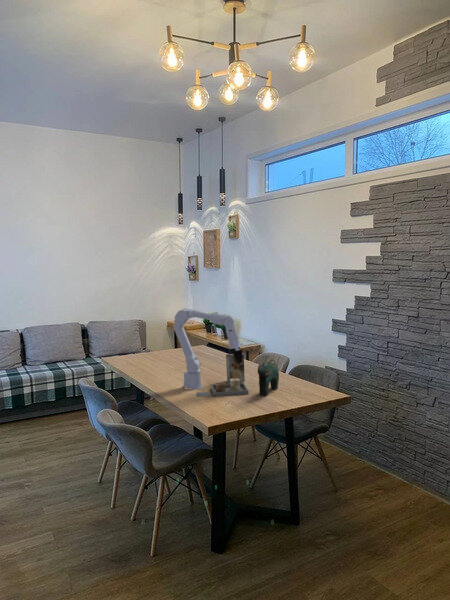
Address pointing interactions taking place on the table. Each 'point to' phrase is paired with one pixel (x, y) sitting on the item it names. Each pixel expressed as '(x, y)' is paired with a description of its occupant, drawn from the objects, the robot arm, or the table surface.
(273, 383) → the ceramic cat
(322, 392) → the table surface
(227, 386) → the bin
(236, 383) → the birch box
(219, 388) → the walnut box
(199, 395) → the slate coaster
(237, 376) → the coffee box
